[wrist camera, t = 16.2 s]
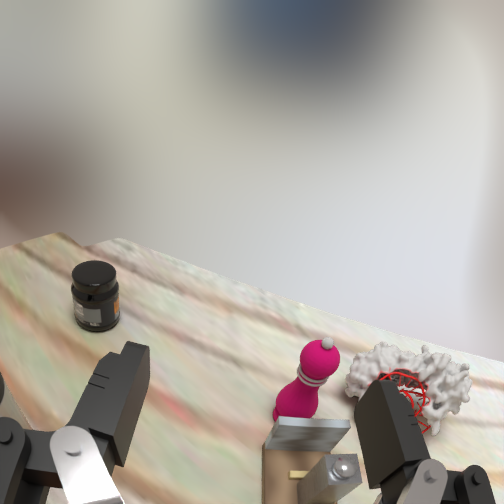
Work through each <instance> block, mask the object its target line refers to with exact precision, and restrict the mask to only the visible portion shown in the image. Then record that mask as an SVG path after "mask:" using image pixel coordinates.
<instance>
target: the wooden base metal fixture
mask: <svg viewBox="0 0 504 504" xmlns="http://www.w3.org/2000/svg"><path fill="white" fill-rule="evenodd" d="M350 428H351V426H350V422H349V420H334V419H310V418H295V417H283V416H279V417H278V419H277V421H276V422H275V424H274V426H273V428H272V430H271V432H270V434H269V435H268V437H267V439H266V441H265V443H264V444H263V446H262V504H298V500H297V483H298V482H299V481H300V480H301V479H302V478H303V477H304V476H305V475H306V474H307V473H308V472H309V471H310V470H311V469H312V468H313V467H314V466H315V465H316V464H317V463H318V461H319V460H320V459H321V458H322V457H323V456H324V455H331V454H330V451H331V450H332V449H333V448H334V447H335V446H336V444H337V443H338V442H339V441H340V440H341V439H342V437H343V436H344V435H345V434H346V433H347V432H348V430H349V429H350ZM334 504H337V502H335V503H334Z"/></svg>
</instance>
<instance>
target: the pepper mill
mask: <svg viewBox="0 0 504 504" xmlns="http://www.w3.org/2000/svg"><path fill="white" fill-rule="evenodd" d="M339 363H340V354H339V351H338V350H337V348H336V347H335V346H334V341H333V339H332V338H330V337H326V338H324V339H323V340H315V341H312V342H310V343H308V344H307V345H306V346H305V347H304V348H303V350H302V352H301V355H300V364H299V367H298V369H297V375H298V376H297V378H296V379H295V380H294V381H293V382H291V383H290V384H288V385H287V386H285V387H284V388H283V389H282V390H281V391H280V393H279V394H278V396H277V399H276V407H275V409H274V411H273V418H274V420H275V422H276V421H277V419H278V417H279V416H283V417H295V418H311V417H312V416H313V415H314V414H315V412H316V409H317V407H318V389H319V387H320V386H322V385H323V384H325V383H326V381H327V379H328V378H329V376H330V375H332V374H333V373H334V372H335V371H336V370H337V368H338V366H339Z"/></svg>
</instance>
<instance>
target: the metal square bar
mask: <svg viewBox="0 0 504 504" xmlns="http://www.w3.org/2000/svg"><path fill="white" fill-rule="evenodd" d="M361 483H362V478H361V472H360V467H359V462H358V457H357V454H333V455H324V456H323V457H322V458H321V459H320V460H319V461H318V463H317V464H316V465H315V466H314V467H313V468H312V469H311V470H310V471H309V472H308V473H307V474H306V475H305V476H304V477H303V478H302V479H301V480H300V481H299V482H298V483H297V500H298V504H334V503H335V502H337V501H338V500H339V499H341V498H342V497H344V496H345V495H346V494H348V493H349V492H351V491H352V490H353V489H355V488H356V487H357V486H359V485H360V484H361Z"/></svg>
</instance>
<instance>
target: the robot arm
mask: <svg viewBox="0 0 504 504" xmlns="http://www.w3.org/2000/svg"><path fill="white" fill-rule="evenodd" d="M149 380H150V350H149V346H146V345H142V344H138V343H134V342H130V341H127V342H126V344H125V346H124V348H123V350H122V352H121V354H116V353H113V352H109V353H108V354H107V355H106V356H104V357H103V358H102V359H101V360H99V362H98V364H97V366H96V368H95V370H94V372H93V375H92V376H91V378H90V380H89V382H88V385H87V386H86V388H85V390H84V392H83V394H82V396H81V398H80V400H79V402H78V405H77V407H76V409H75V411H74V413H73V415H72V417H71V419H70V421H69V422H68V424H67V425H65V426H64V427H62V428H60V429H58V430H57V431H52V432H44V431H36V430H33V429H32V428H31V426H30V425H29V423H28V421H27V420H26V418H25V417H24V415H23V413H22V412H21V410H20V408H19V406H18V405H17V403H16V401H15V399H14V398H13V396H12V394H11V392H10V390H9V388H8V387H7V385H6V383H5V381H4V379H3V377H2V375H1V372H0V504H45V503H46V500H47V496H48V492H49V489H50V487H54V488H62V489H64V491H65V494H66V496H67V499H68V501H69V504H125V503H124V501H123V499H122V498H121V496H120V494H119V492H118V490H117V488H116V486H115V484H114V482H113V480H112V477H111V476H112V473H113V469H114V466H115V465H118V466H121V467H124V464H125V461H126V457H127V454H128V450H129V447H130V444H131V440H132V437H133V434H134V430H135V427H136V424H137V421H138V418H139V414H140V411H141V408H142V405H143V402H144V399H145V396H146V393H147V390H148V386H149ZM354 418H355V423H356V427H357V432H358V436H359V440H360V445H361V450H362V454H363V459H364V464H365V469H366V473H367V478H368V483H369V489H377V488H381V492H382V493H380V494H379V495H378V497H377V499H376V500H375V502H374V504H496V503H495V499H494V496H493V492H492V489H491V485H490V482H489V479H488V476H487V473H486V472H485V470H484V469H483V468H482V467H480V466H478V465H471V466H469V467H468V468H466V469H465V470H464V471H463V472H458V471H449V470H446V468H445V467H444V465H443V464H442V463H441V462H439V461H437V460H435V459H431V458H430V455H429V452H428V449H427V446H426V444H425V441H424V438H423V435H422V432H421V430H420V427H419V426H418V421H417V419H416V417H415V413H414V411H413V408H412V406H411V403H410V402H409V401H408V400H407V398H406V397H405V396H404V395H403V394H400V393H399V390H398V387H397V385H396V383H395V382H394V381H393V380H374V381H373V382H372V383H371V384H370V386H369V387H368V389H367V390H366V392H365V393H364V395H363V396H362V397H361V399H360V400H359V402H358V403H357V405H356V407H355V411H354Z"/></svg>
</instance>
